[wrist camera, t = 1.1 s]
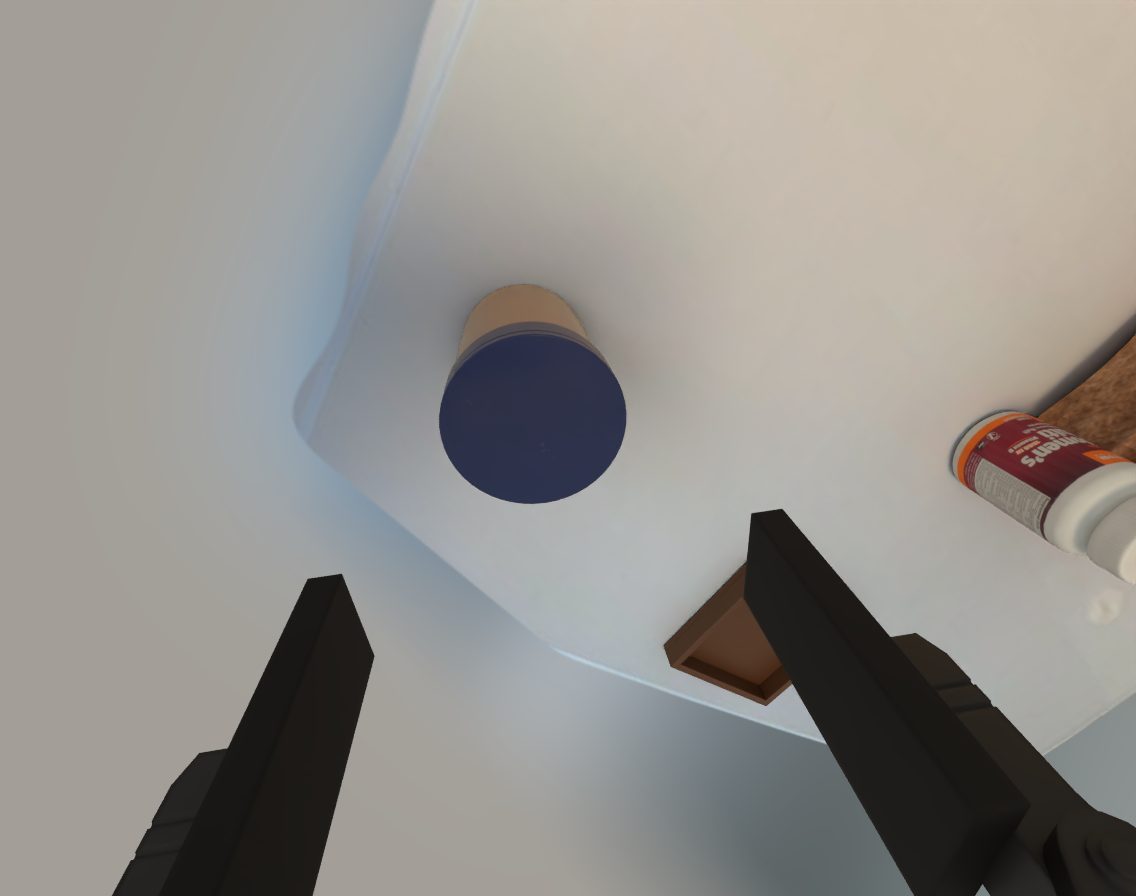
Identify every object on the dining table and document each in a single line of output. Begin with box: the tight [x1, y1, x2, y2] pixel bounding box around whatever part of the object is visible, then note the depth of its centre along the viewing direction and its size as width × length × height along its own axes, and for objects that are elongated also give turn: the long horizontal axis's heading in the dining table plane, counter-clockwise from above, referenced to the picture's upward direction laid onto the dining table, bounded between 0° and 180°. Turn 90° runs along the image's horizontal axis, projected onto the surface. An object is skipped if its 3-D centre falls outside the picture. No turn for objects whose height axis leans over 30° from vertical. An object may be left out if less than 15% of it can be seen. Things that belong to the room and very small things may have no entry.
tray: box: [664, 562, 792, 706], centre depth 42 cm, size 11×11×2 cm
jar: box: [456, 284, 592, 361], centre depth 25 cm, size 7×7×10 cm
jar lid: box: [439, 321, 626, 504], centre depth 21 cm, size 8×7×2 cm
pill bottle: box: [953, 411, 1136, 584], centre depth 32 cm, size 6×6×11 cm
